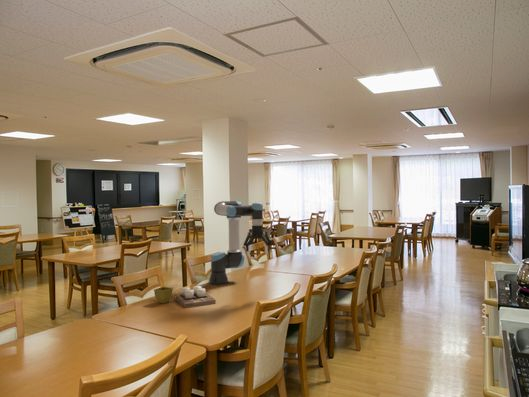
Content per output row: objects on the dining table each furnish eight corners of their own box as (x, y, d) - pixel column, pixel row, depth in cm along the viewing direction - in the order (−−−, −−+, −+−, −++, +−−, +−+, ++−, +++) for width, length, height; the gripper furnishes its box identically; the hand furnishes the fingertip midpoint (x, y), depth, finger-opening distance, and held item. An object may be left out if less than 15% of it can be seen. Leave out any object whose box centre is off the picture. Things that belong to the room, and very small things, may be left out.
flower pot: (153, 303, 254) (153, 289, 254) (163, 299, 262) (162, 286, 262) (164, 304, 250) (163, 290, 250) (173, 301, 258) (173, 287, 258)
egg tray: (175, 298, 265) (175, 294, 265) (203, 295, 274) (203, 291, 274) (185, 307, 243) (185, 303, 243) (215, 303, 253) (215, 299, 253)
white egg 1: (180, 293, 264) (180, 287, 264) (188, 292, 267) (188, 286, 267) (183, 295, 259) (182, 289, 259) (191, 294, 262) (191, 288, 262)
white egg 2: (192, 292, 268) (192, 286, 268) (200, 291, 270) (200, 285, 270) (194, 294, 263) (194, 288, 263) (202, 293, 265) (202, 287, 265)
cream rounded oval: (184, 296, 257) (183, 290, 257) (192, 295, 260) (192, 289, 260) (186, 298, 252) (186, 292, 252) (194, 297, 255) (194, 291, 255)
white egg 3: (195, 295, 261) (195, 288, 261) (203, 294, 263) (203, 287, 263) (198, 297, 256) (198, 290, 256) (206, 296, 258) (206, 289, 258)
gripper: (242, 226, 266) (242, 257, 266) (275, 224, 276) (275, 254, 276) (238, 225, 273) (238, 255, 273) (271, 224, 283) (271, 253, 283)
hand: (257, 255), depth 275 cm, fingers open, 13 cm apart
